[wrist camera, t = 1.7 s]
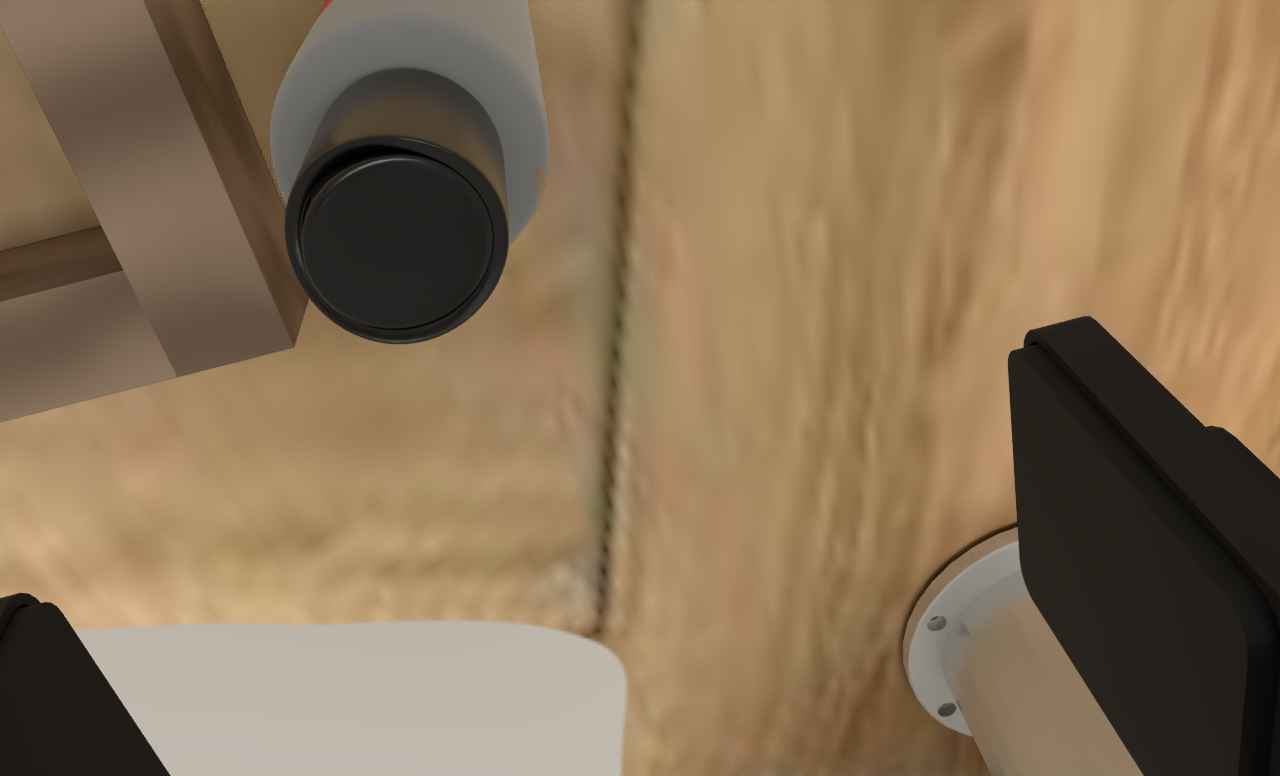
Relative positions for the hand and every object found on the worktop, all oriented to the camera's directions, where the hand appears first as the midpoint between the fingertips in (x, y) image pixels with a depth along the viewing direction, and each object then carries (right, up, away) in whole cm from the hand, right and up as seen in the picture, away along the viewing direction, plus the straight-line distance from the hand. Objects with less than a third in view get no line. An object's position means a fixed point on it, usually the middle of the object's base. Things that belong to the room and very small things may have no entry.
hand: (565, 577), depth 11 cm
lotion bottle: (-6, +14, +25) cm, 29 cm away
